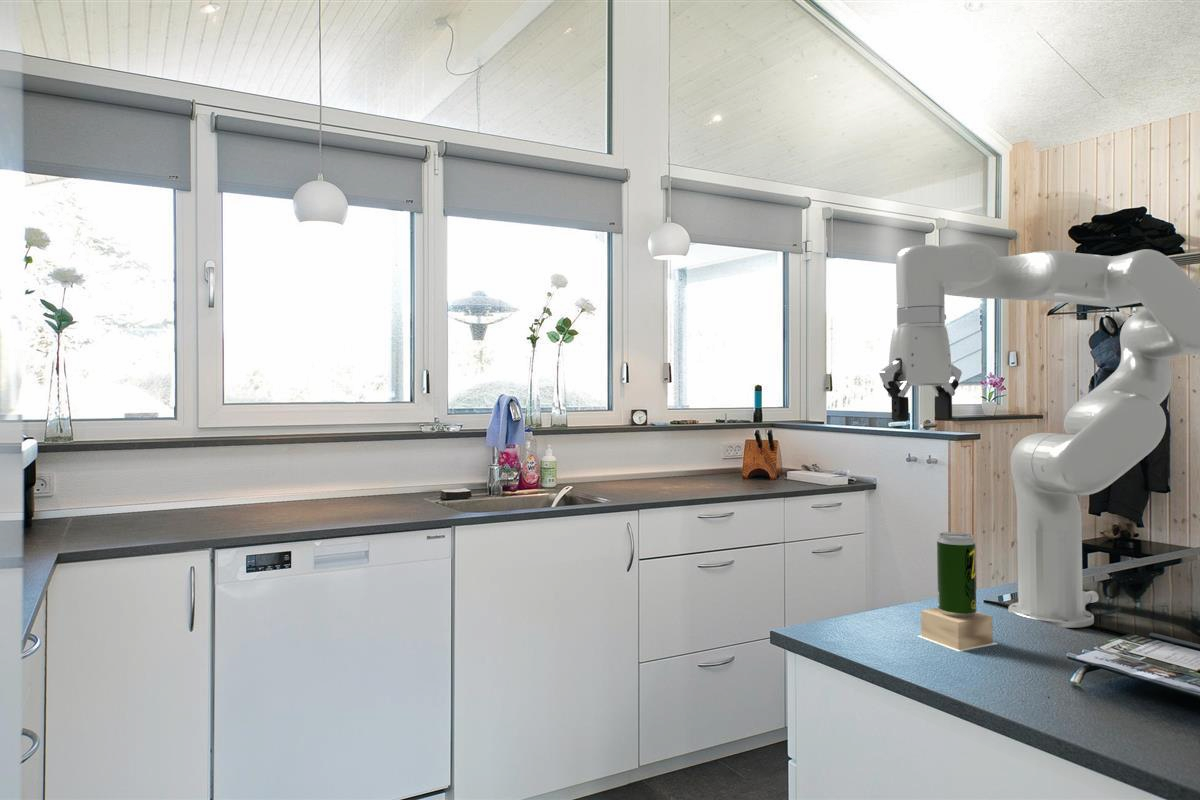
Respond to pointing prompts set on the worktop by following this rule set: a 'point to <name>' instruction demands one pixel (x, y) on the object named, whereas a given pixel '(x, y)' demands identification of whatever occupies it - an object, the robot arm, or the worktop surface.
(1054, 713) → the worktop surface
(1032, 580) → the robot arm
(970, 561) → the beer can
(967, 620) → the oak block
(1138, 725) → the worktop surface
